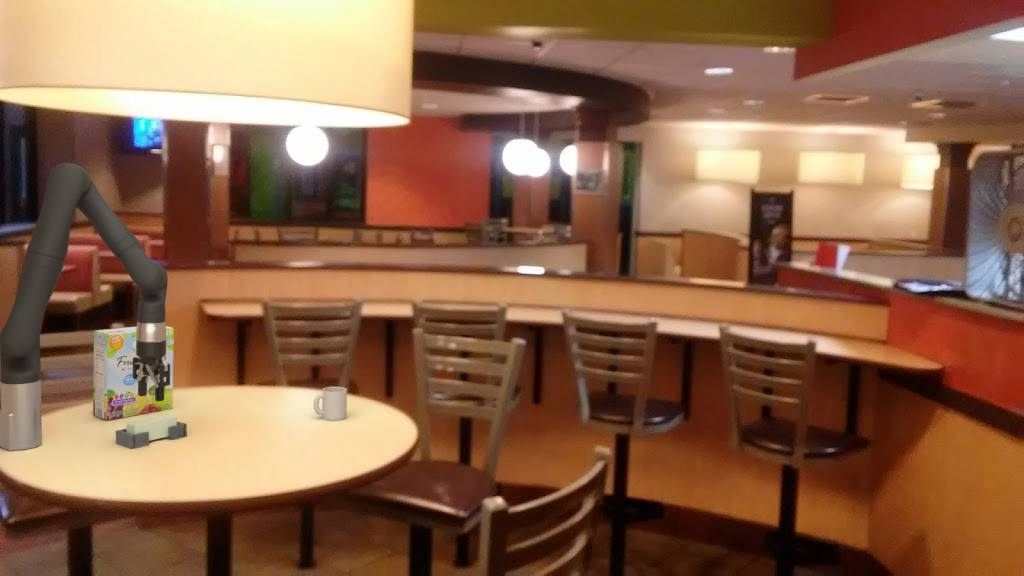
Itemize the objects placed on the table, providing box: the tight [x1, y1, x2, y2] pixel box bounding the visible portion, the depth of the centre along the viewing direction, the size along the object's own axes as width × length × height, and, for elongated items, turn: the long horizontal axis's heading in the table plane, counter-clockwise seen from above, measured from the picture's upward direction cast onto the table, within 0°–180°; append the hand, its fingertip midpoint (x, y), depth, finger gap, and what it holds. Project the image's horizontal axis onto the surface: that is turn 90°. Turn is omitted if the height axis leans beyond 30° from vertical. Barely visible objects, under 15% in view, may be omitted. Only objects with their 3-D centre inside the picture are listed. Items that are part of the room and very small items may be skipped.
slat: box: [125, 414, 178, 442], centre depth 247 cm, size 12×4×5 cm, turn 144°
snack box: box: [92, 325, 175, 421], centre depth 273 cm, size 22×9×26 cm, turn 143°
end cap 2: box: [163, 420, 188, 441], centre depth 252 cm, size 5×7×4 cm
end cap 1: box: [115, 428, 150, 450], centre depth 242 cm, size 5×7×4 cm
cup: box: [313, 386, 348, 422], centre depth 276 cm, size 7×10×9 cm
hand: (151, 398), depth 246 cm, fingers open, 7 cm apart
